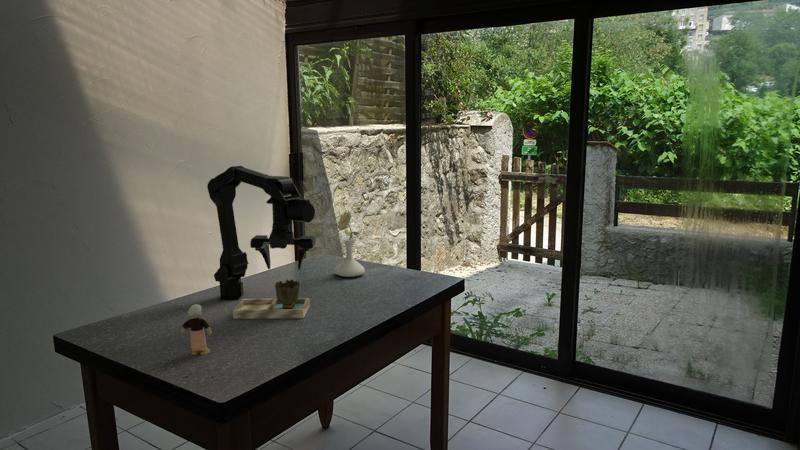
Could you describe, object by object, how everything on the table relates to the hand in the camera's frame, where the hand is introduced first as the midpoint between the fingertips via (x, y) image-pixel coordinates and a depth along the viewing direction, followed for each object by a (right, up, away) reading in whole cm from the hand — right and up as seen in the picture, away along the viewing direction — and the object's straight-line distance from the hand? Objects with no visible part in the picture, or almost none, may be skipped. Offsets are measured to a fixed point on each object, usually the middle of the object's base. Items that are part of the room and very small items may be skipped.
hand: (284, 269), depth 172 cm
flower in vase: (+17, -6, +39) cm, 42 cm away
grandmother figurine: (-15, -19, -30) cm, 39 cm away
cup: (+2, -12, -1) cm, 12 cm away
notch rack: (-3, -13, -1) cm, 13 cm away
